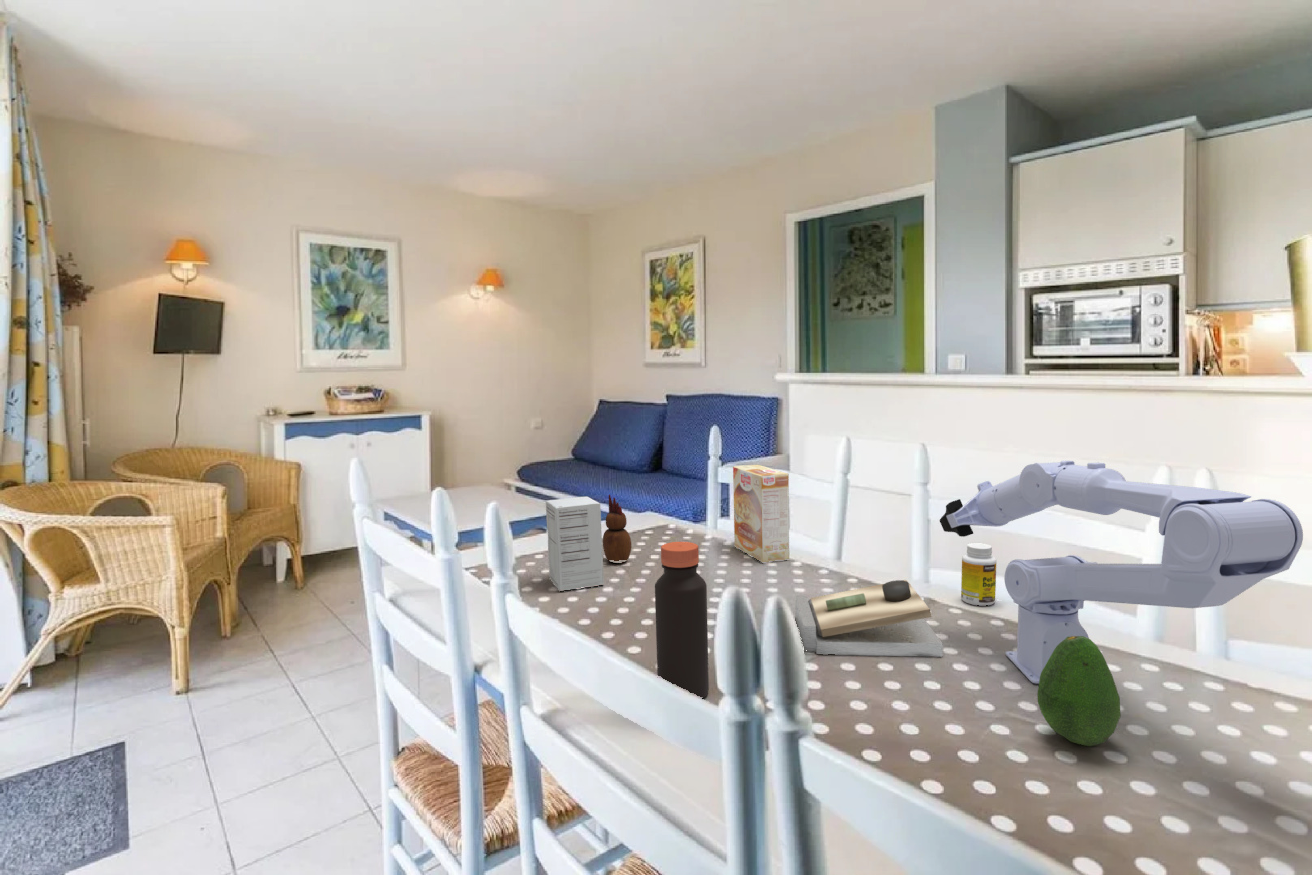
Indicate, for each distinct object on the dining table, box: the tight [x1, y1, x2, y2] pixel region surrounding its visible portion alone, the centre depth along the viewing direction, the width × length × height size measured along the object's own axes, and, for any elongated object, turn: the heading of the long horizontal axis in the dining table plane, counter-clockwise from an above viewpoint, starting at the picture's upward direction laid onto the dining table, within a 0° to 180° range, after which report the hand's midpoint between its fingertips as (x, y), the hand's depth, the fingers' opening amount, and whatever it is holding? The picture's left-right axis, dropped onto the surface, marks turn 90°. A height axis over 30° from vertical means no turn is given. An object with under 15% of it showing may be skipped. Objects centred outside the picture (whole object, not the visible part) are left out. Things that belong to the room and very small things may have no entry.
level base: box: [794, 594, 944, 658], centre depth 110 cm, size 16×20×4 cm
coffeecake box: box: [732, 464, 790, 563], centre depth 157 cm, size 15×7×20 cm, turn 17°
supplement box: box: [545, 496, 605, 591], centre depth 140 cm, size 10×9×17 cm
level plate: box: [808, 579, 932, 637], centre depth 109 cm, size 14×17×3 cm
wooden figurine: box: [602, 494, 632, 561], centre depth 154 cm, size 7×6×15 cm
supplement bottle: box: [960, 542, 997, 607], centre depth 123 cm, size 6×6×10 cm
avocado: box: [1036, 636, 1121, 747], centre depth 78 cm, size 8×8×12 cm
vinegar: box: [654, 541, 710, 699], centre depth 91 cm, size 7×7×20 cm
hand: (963, 518), depth 115 cm, fingers open, 7 cm apart
